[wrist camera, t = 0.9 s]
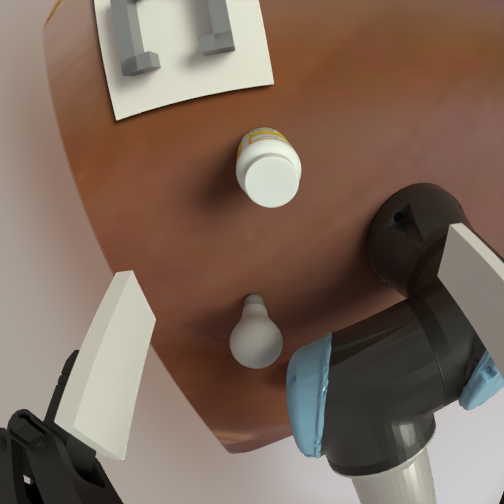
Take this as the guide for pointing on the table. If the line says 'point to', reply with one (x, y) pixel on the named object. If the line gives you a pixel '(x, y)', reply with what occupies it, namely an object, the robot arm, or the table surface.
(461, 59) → the table surface
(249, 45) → the socket
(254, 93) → the table surface
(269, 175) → the supplement bottle
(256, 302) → the lightbulb
